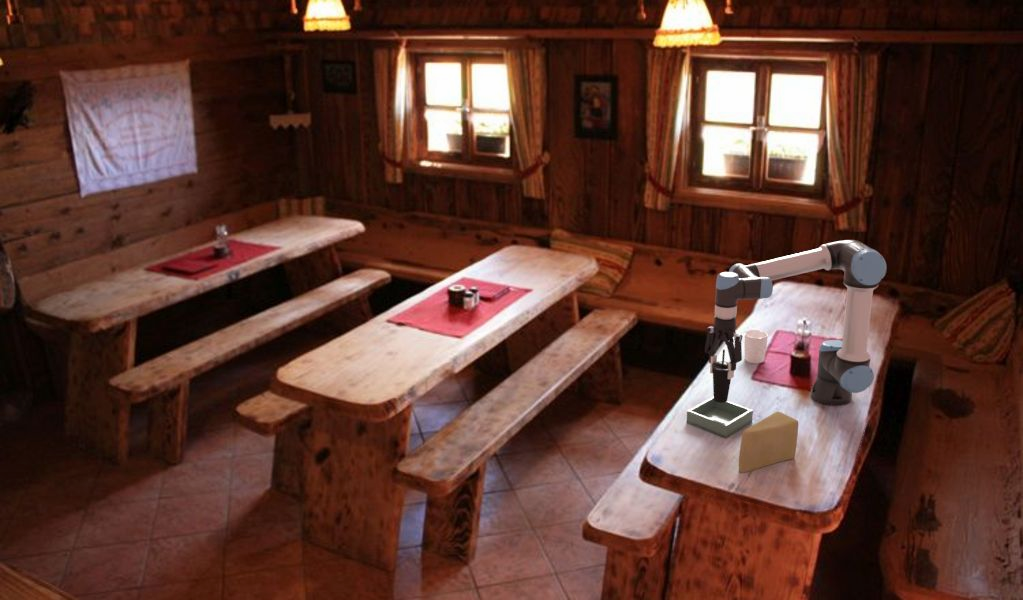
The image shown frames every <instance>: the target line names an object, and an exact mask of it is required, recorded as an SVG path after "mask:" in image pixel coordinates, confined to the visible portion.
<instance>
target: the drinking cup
mask: <svg viewBox="0 0 1023 600" xmlns="http://www.w3.org/2000/svg"><path fill="white" fill-rule="evenodd" d="M725 351H726V349H725V348H724V349H722V358H721V359H722V360H721V361H717V362H715V363H713V364H712V368H713V373H712V387H713V393H712V394H713V396H714V401H716V402H719V403H724V402H726V401H728V397H729V392H730V387H731V386H730V385H731V380H732V378H731V379H728V371H729V370H728V364H729V362H728V361H725V355H726V354H725V353H726V352H725Z"/></svg>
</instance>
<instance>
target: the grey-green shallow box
mask: <svg viewBox="0 0 1023 600" xmlns="http://www.w3.org/2000/svg"><path fill="white" fill-rule="evenodd" d="M753 415H754V410H753V409H750V408H749V407H745V406H743V405H740V404H737V403H735V402H731V401H729V400H727V401H726V402H724V403H719V402H716V401H714V395H713V396H711V397H710V398H709V397H708V399H706V400H704V401H702V402H700V403H698V404H697V405H695V406H693V407H691V408H690V409H687V410H686V423H687V424H689V425H691V426H693V427H696V428H698V429H701V430H703V431H706V432H709V433H710V434H711V433H712V434H714V435H716V436H719V437H721V438H724V439H727V438H729V437H731V436H732V435H734V434H736V433H737V432H738V431H740V430H742V429H744V428H745V427H747V426H749V424H752V423H753Z"/></svg>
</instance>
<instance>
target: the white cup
mask: <svg viewBox="0 0 1023 600" xmlns="http://www.w3.org/2000/svg"><path fill="white" fill-rule="evenodd" d="M768 335H769V334H768V333H767V332H766V331H765V330H761V329H759V330H758V329H748V330H747V331H745V332H744V361H746V363H751V364H761V363H764V362H765V358H766V352H767V345H768V337H769V336H768Z"/></svg>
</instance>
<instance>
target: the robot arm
mask: <svg viewBox="0 0 1023 600" xmlns="http://www.w3.org/2000/svg"><path fill="white" fill-rule="evenodd" d="M822 269H824V270H825V271H830V270H842V271H843V272H844V274H843V285H844V286H845V287H846V298H845V311H844V320H843V329H842V340H841V339H830V340H825V341H822V342H821V343H820V345H819V349H818V361H817V371H816V372H817V373H816V374H817V375H816V378H815V380H814V382H813V384H812V386H811V389H810V394H809V395H810V398H811V399H812V400H813V401H815V402H817V403H819V404H822V405H826V406H832V407H834V406H835V407H838V406H846V405H848V404H850V403H851V402H852V399H853V398H852V397H853V394H858V393H861V392H864V391H866V390H867V389H868V388H870V386H872V384H873V382H874V379H875V373H874V371H873V369H872V368H871V367H870V364H871V354H870V353H869V352H868V351H867V350H868V340H869V331H870V323H871V314H872V312H871V311H872V304H873V293H874V290H876V289H877V288H878V287H879V285H880V282H881V280H882V279H884V277H885V276H886V273H887V263H886V260H885V258H884V256H883V255H882V254H880V252H878V250H876V249H873V248H871V247H869V246H867V245H866V244H864V243H863V242H862V241H859V240H855V239H844V240H838V241H833V242H828V243H824V244H821V245H820V246H819V247H818V248H814V249H811V250H806V251H802V252H799V253H794V254H790V255H785V256H781V257H776V258H773V259H769V260H765V261H760V262H756V263H751V264H748V265H745V264H743V263H735V264H734V265H732V266H731V267H730V268H729V270H728V271H723V272H720V273H718V274H717V277H716V282H715V283H716V284H715V303H714V317H713V318H714V320H713V325H714V326H713V325H711V326H708V327H706V339H705V345H704V353H707V354H708V356H709V357H708V363H709V364H710V366H709V367H710V368H709V374H713V368H712V364H713V363H715V362H718V359H717V358H718V354H717V350H718V348H719V345H720V343H721V341H722V342H724V344H725V345H726V347H727V352H728V356H729V362H728V363H729V364H728V370H729V371H728V379H731V380H732V379H733V378H734V377H735V376H734V375H735V371H736V369H737V363H740V362H741V361H742V360H743V357H742V340H743V334H738V333H737V332H736V324H737V317H736V316H737V312H738V311H737V310H738V301H739V300H740V301H741V300H759V299H760V300H762V299H768V298H770V297H772V294H773V292H774V291H773V289H774V287H773V281H776V280H779V279H780V280H781V279H783V278H788V277H792V276H798V275H801V274H805V273H810V272H815V271H818V270H822ZM714 333H715V336H714Z"/></svg>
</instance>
